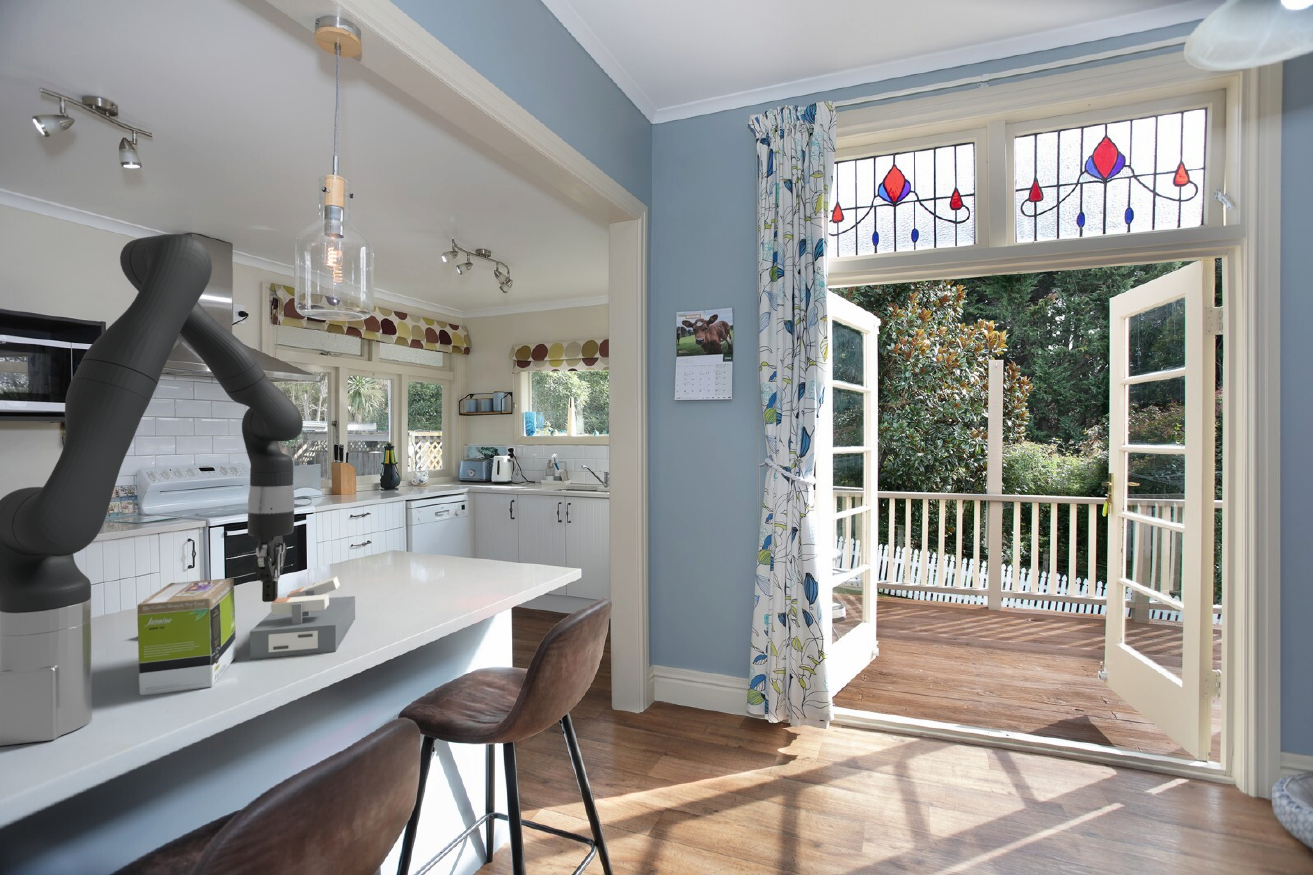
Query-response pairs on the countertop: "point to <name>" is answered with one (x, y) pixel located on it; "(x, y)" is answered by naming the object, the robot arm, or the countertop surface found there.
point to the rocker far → (317, 588)
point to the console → (303, 630)
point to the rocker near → (307, 602)
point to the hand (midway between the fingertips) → (269, 600)
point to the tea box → (186, 636)
